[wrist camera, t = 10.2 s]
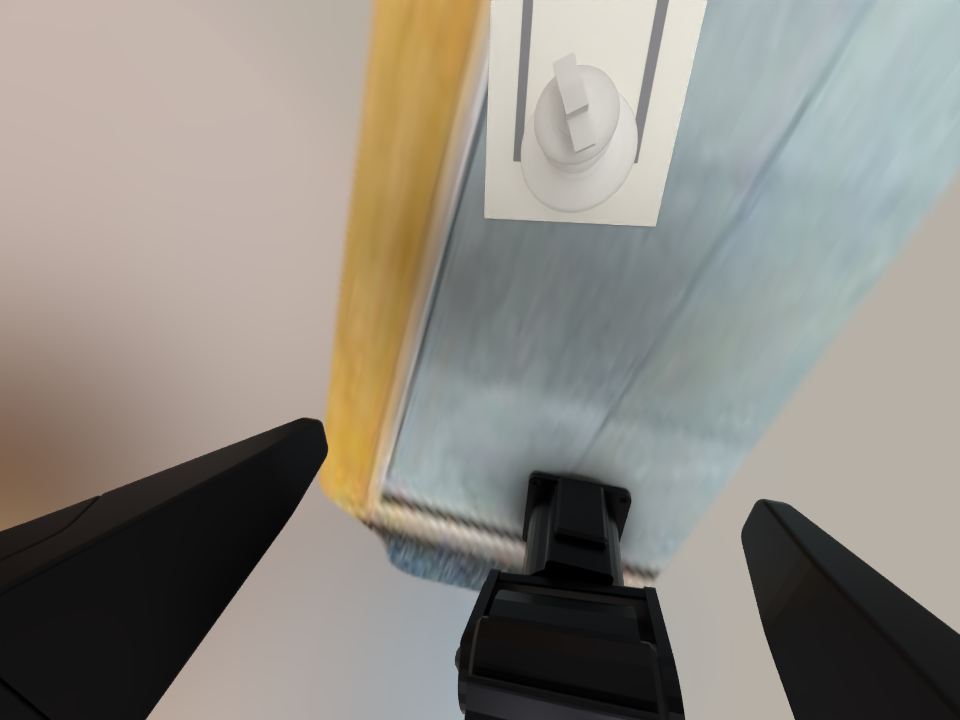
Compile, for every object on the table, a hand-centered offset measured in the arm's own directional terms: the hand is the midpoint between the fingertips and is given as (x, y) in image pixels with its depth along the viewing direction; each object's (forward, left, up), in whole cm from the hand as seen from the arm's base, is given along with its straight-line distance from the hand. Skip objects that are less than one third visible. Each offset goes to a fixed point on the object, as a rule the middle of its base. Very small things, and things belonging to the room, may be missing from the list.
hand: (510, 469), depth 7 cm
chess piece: (+7, 0, -13) cm, 15 cm away
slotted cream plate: (+9, 0, -13) cm, 16 cm away
